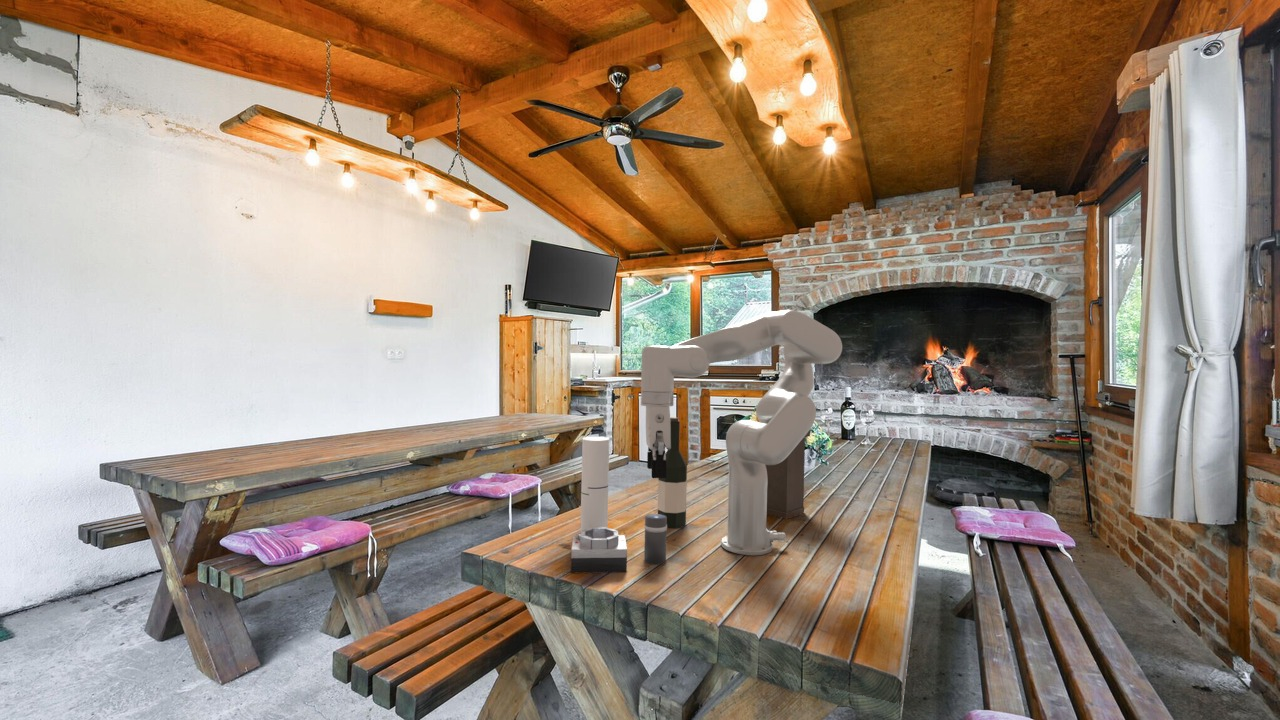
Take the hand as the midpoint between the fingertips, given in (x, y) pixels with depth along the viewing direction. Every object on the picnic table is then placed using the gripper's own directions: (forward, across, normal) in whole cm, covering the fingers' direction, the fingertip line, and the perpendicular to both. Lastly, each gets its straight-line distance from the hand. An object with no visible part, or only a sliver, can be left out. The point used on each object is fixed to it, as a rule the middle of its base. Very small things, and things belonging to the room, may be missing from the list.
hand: (656, 473), depth 122 cm
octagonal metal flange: (+20, -2, +13) cm, 24 cm away
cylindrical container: (+20, +20, +14) cm, 32 cm away
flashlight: (+20, 0, 0) cm, 20 cm away
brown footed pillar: (+21, +41, -42) cm, 62 cm away
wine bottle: (+20, +27, -8) cm, 35 cm away
